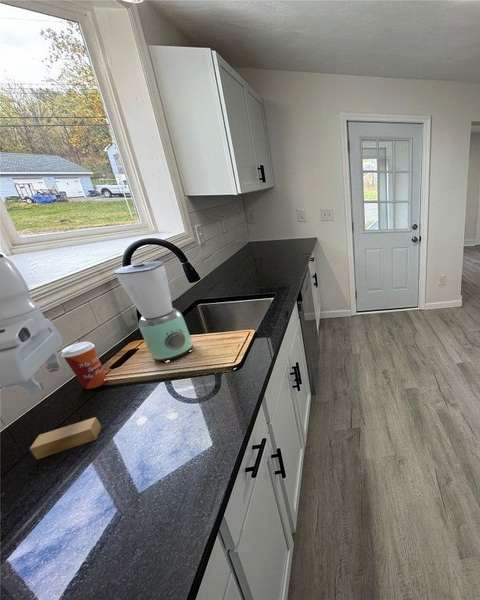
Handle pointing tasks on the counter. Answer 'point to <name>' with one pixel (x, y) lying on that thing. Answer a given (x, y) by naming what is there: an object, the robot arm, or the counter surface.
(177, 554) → the counter surface
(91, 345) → the paper cup
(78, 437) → the oak bar
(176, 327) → the juicer
